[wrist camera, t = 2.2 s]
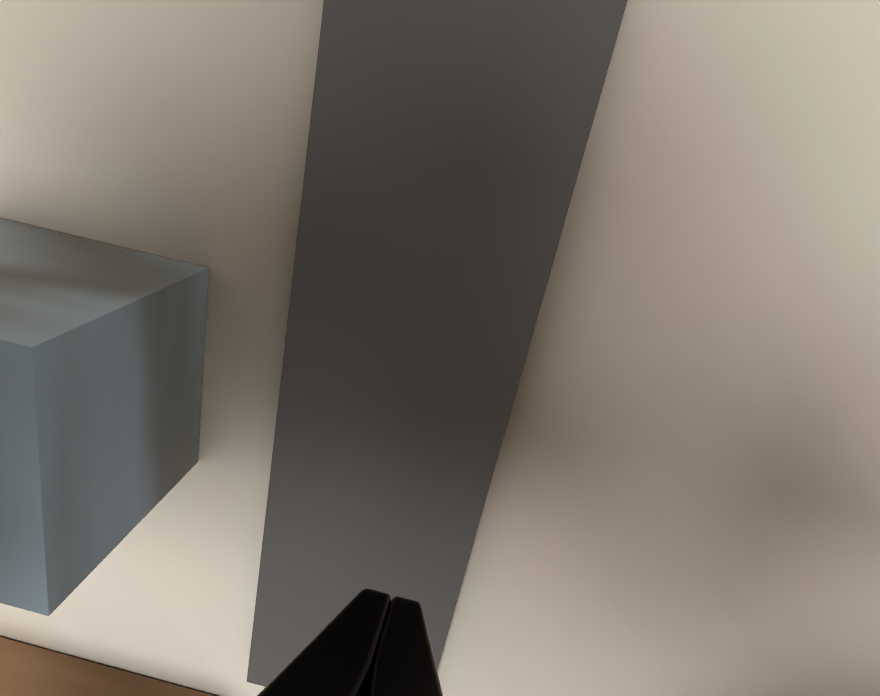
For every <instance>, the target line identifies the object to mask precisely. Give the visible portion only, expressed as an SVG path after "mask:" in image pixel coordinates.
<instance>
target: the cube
mask: <svg viewBox="0 0 880 696" xmlns="http://www.w3.org/2000/svg"><path fill="white" fill-rule="evenodd" d="M208 279H209V267H204V266H200V265H196V264H192V263H188V262H183V261H179V260H175V259H171V258H167V257H163V256H158V255H154V254H150V253H146V252H142V251H138V250H133V249H129V248H125V247H121V246H117V245H112V244H108V243H104V242H100V241H96V240H92V239H87V238H83V237H79V236H75V235H71V234H67V233H62V232H58V231H54V230H50V229H46V228H41V227H37V226H33V225H29V224H25V223H21V222H16V221H12V220H8V219H4V218H0V603H3V604H7V605H10V606H14V607H18V608H22V609H25V610H29V611H33V612H36V613H40V614H44V615H47V616H49V615H50V614H51V613H52V612H53V611H54V610H55V609H56V608H57V607H58V606H59V605H60V604H61V603H62V602H63V601H64V600H65V599H66V598H67V597H68V596H69V595H70V593H71V592H72V591H73V590H74V589H75V588H76V587H77V586H78V585H79V584H80V583H81V582H82V581H83V580H84V579H85V578H86V577H87V576H88V575H89V574H90V573H91V572H92V571H93V570H94V569H95V568H96V567H97V566H98V565H99V563H100V562H101V561H102V560H103V559H104V558H105V557H106V556H107V555H108V554H109V553H110V552H111V551H112V550H113V549H114V548H115V547H116V546H117V545H118V544H119V543H120V542H121V541H122V540H123V539H124V538H125V537H126V536H127V534H128V533H129V532H130V531H131V530H132V529H133V528H134V527H135V526H136V525H137V524H138V523H139V522H140V521H141V520H142V519H143V518H144V517H145V516H146V515H147V514H148V513H149V512H150V511H151V510H152V509H153V508H154V507H155V506H156V504H157V503H158V502H159V501H160V500H161V499H162V498H163V497H164V496H165V495H166V494H167V493H168V492H169V491H170V490H171V489H172V488H173V487H174V486H175V485H176V484H177V483H178V482H179V481H180V480H181V479H182V478H183V477H184V476H185V474H186V473H187V472H188V471H189V470H190V469H191V468H192V467H193V466H194V465H195V464H196V463H197V462H198V453H199V436H200V418H201V401H202V384H203V366H204V349H205V331H206V314H207V297H208Z"/></svg>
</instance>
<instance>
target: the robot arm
mask: <svg viewBox="0 0 880 696" xmlns="http://www.w3.org/2000/svg"><path fill="white" fill-rule="evenodd" d="M257 696H443V694H442V690H441V685H440V681H439V677H438V673H437V668H436V664H435V660H434V655H433V651H432V647H431V643H430V638H429V634H428V630H427V625H426V621H425V617H424V613H423V608H422V606H421V604H420V603H419V602H417V601H414V600H410V599H406V598H402V597H399V596H396V597H394V598H393V599H392V601H391V596H390V595H389V594H387V593H384V592H380V591H376V590H372V589H368V588H366V589H363V590H362V591H361V592H360V593H359V594H358V595H357V596H356V597H355V598H354V599H353V600H352V601H351V602H350V603H349V604H348V605H347V606H346V607H345V608H344V609H343V610H342V611H341V612H340V613H339V614H338V615H337V616H336V617H335V618H334V619H333V620H332V621H331V622H330V623H329V624H328V625H327V626H326V627H325V628H324V629H323V630H322V631H321V632H320V633H319V634H318V635H317V636H316V637H315V638H314V639H313V640H312V641H311V642H310V643H309V644H308V645H307V646H306V647H305V648H304V649H303V650H302V651H301V652H300V653H299V654H298V655H297V656H296V657H295V658H294V659H293V660H292V661H291V662H290V663H289V664H288V665H287V666H286V667H285V668H284V669H283V670H282V671H281V672H280V673H279V674H278V675H277V676H276V677H275V678H274V679H273V680H272V681H271V682H270V683H269V684H268V685H267V686H266V687H265V688H264V689H263V690H262V691H261V692H260V693H259V694H258V695H257Z"/></svg>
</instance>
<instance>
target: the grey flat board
mask: <svg viewBox="0 0 880 696" xmlns="http://www.w3.org/2000/svg"><path fill="white" fill-rule="evenodd" d="M626 3H627V0H324V6H323V15H322V24H321V32H320V41H319V50H318V59H317V68H316V76H315V85H314V94H313V103H312V112H311V121H310V129H309V138H308V147H307V156H306V165H305V173H304V182H303V191H302V200H301V209H300V217H299V226H298V235H297V244H296V253H295V261H294V270H293V279H292V288H291V297H290V306H289V314H288V323H287V332H286V341H285V350H284V358H283V367H282V376H281V385H280V394H279V402H278V411H277V420H276V429H275V438H274V447H273V455H272V464H271V473H270V482H269V491H268V499H267V508H266V517H265V526H264V535H263V543H262V552H261V561H260V570H259V579H258V587H257V596H256V605H255V614H254V623H253V632H252V640H251V649H250V658H249V667H248V676H247V682H250V683H254V684H257V685H261V686H265V687H266V686H267V685H268V684H269V683H270V682H271V681H272V680H273V679H274V678H275V677H276V676H277V675H278V674H279V673H280V672H281V671H282V670H283V669H284V668H285V667H286V666H287V665H288V664H289V663H290V662H291V661H292V660H293V659H294V658H295V657H296V656H297V655H298V654H299V653H300V652H301V651H302V650H303V649H304V648H305V647H306V646H307V645H308V644H309V643H310V642H311V641H312V640H313V639H314V638H315V637H316V636H317V635H318V634H319V633H320V632H321V631H322V630H323V629H324V628H325V627H326V626H327V625H328V624H329V623H330V622H331V621H332V620H333V619H334V618H335V617H336V616H337V615H338V614H339V613H340V612H341V611H342V610H343V609H344V608H345V607H346V606H347V605H348V604H349V603H350V602H351V601H352V600H353V599H354V598H355V597H356V596H357V595H358V594H359V593H360V592H361V591H362V590H363V589H366V588H368V589H372V590H376V591H380V592H384V593H387V594H389V595H390V596H391V601H392V599H393V598H394V597H396V596H399V597H402V598H406V599H410V600H414V601H417V602H419V603H420V604H421V606H422V608H423V613H424V617H425V621H426V625H427V630H428V634H429V638H430V643H431V647H432V651H433V655H434V660H435V664H436V668H438V665H439V661H440V658H441V654H442V651H443V647H444V644H445V640H446V637H447V633H448V630H449V626H450V623H451V619H452V616H453V612H454V609H455V605H456V602H457V598H458V594H459V591H460V587H461V584H462V580H463V577H464V573H465V570H466V566H467V563H468V559H469V556H470V552H471V549H472V545H473V542H474V538H475V535H476V531H477V528H478V524H479V521H480V517H481V514H482V510H483V506H484V503H485V499H486V496H487V492H488V489H489V485H490V482H491V478H492V475H493V471H494V468H495V464H496V461H497V457H498V454H499V450H500V447H501V443H502V440H503V436H504V433H505V429H506V425H507V422H508V418H509V415H510V411H511V408H512V404H513V401H514V397H515V394H516V390H517V387H518V383H519V380H520V376H521V373H522V369H523V366H524V362H525V359H526V355H527V352H528V348H529V344H530V341H531V337H532V334H533V330H534V327H535V323H536V320H537V316H538V313H539V309H540V306H541V302H542V299H543V295H544V292H545V288H546V285H547V281H548V278H549V274H550V271H551V267H552V264H553V260H554V256H555V253H556V249H557V246H558V242H559V239H560V235H561V232H562V228H563V225H564V221H565V218H566V214H567V211H568V207H569V204H570V200H571V197H572V193H573V190H574V186H575V183H576V179H577V175H578V172H579V168H580V165H581V161H582V158H583V154H584V151H585V147H586V144H587V140H588V137H589V133H590V130H591V126H592V123H593V119H594V116H595V112H596V109H597V105H598V102H599V98H600V94H601V91H602V87H603V84H604V80H605V77H606V73H607V70H608V66H609V63H610V59H611V56H612V52H613V49H614V45H615V42H616V38H617V35H618V31H619V28H620V24H621V21H622V17H623V14H624V10H625V6H626Z"/></svg>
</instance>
